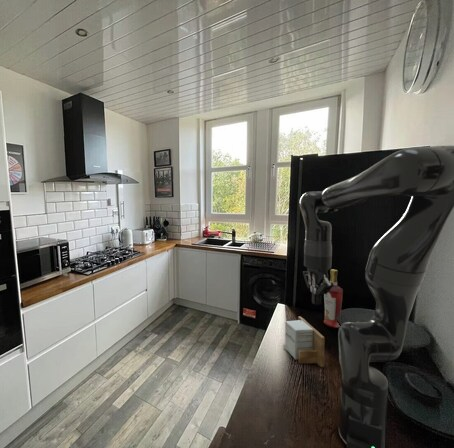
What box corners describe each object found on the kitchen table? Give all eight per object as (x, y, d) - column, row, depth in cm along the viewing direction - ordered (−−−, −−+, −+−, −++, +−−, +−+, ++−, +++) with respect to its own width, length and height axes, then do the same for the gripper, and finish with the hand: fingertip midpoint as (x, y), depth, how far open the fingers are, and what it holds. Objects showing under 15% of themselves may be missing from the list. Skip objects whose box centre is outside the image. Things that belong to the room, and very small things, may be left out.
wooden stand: (303, 367, 93) (303, 338, 92) (282, 342, 109) (282, 316, 107) (323, 367, 93) (324, 337, 91) (300, 342, 109) (300, 316, 107)
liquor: (319, 323, 123) (320, 268, 119) (331, 321, 124) (333, 267, 121) (332, 330, 116) (334, 273, 112) (345, 328, 117) (347, 271, 113)
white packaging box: (284, 348, 105) (284, 320, 103) (301, 347, 105) (302, 319, 103) (294, 360, 97) (295, 330, 96) (313, 358, 97) (314, 328, 96)
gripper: (344, 257, 73) (342, 312, 75) (316, 248, 86) (315, 295, 88) (318, 258, 74) (317, 313, 76) (295, 249, 87) (294, 296, 89)
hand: (316, 303), depth 82 cm, fingers closed
